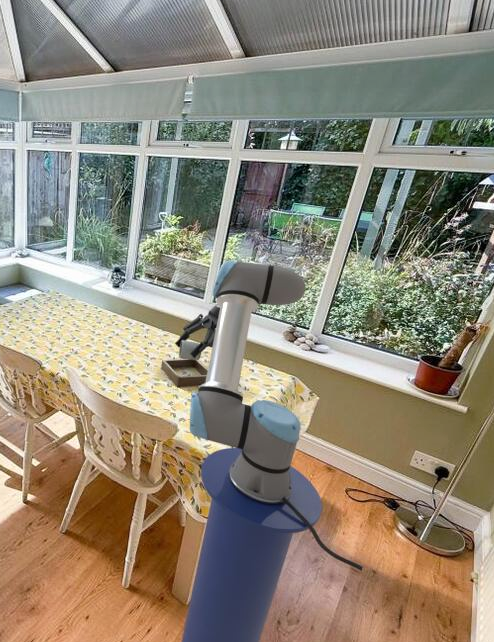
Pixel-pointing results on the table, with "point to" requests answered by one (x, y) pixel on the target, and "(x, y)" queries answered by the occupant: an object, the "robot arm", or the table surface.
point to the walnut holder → (185, 380)
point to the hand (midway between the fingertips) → (184, 350)
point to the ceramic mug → (188, 350)
